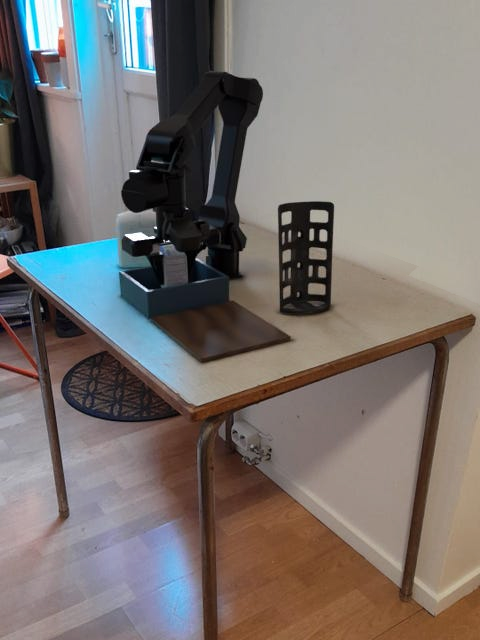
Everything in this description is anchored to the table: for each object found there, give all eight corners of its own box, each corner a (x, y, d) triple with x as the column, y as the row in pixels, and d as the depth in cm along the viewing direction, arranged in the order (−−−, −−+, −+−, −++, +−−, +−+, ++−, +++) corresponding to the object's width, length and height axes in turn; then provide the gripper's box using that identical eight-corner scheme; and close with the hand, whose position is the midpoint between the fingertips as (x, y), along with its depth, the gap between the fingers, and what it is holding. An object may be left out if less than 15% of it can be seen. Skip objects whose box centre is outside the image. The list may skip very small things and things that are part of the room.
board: (233, 304, 130) (233, 300, 130) (290, 340, 116) (290, 336, 116) (150, 321, 122) (150, 317, 122) (201, 363, 108) (201, 358, 108)
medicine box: (189, 298, 129) (187, 255, 124) (166, 300, 128) (164, 257, 123) (181, 285, 135) (179, 243, 131) (159, 287, 134) (157, 245, 130)
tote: (197, 282, 141) (196, 257, 138) (229, 302, 131) (229, 276, 128) (120, 296, 133) (118, 271, 130) (148, 319, 123) (146, 292, 121)
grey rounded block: (162, 261, 153) (160, 206, 146) (165, 266, 149) (162, 211, 143) (118, 263, 151) (113, 208, 144) (119, 269, 147) (114, 213, 141)
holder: (289, 318, 124) (290, 208, 115) (269, 308, 130) (269, 203, 121) (337, 309, 128) (342, 202, 119) (316, 300, 134) (319, 198, 125)
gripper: (141, 217, 112) (147, 304, 120) (235, 205, 120) (234, 286, 129) (117, 204, 120) (124, 285, 128) (206, 193, 128) (207, 270, 137)
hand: (173, 282), depth 130 cm, fingers closed on medicine box, 5 cm apart
